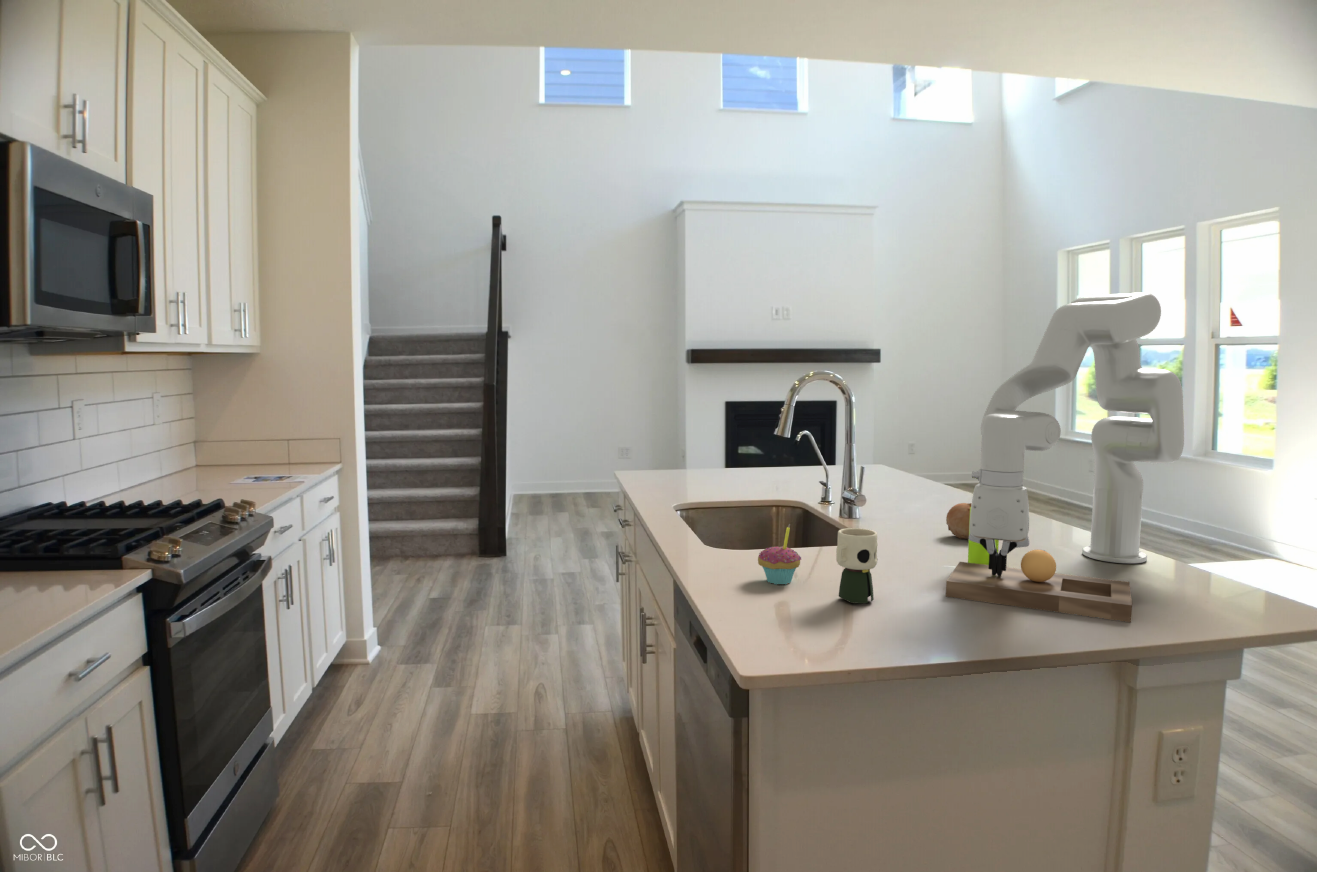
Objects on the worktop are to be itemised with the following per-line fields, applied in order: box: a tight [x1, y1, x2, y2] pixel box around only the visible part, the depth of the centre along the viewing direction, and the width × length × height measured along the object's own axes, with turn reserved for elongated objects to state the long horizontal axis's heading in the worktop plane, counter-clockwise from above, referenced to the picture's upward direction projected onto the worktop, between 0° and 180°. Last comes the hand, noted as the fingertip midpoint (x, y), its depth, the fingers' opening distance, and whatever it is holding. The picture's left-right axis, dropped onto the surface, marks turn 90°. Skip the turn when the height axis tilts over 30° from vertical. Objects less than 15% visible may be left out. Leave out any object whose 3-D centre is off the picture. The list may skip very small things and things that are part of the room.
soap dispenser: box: [967, 507, 1000, 565], centre depth 166 cm, size 6×7×20 cm
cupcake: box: [757, 523, 802, 585], centre depth 158 cm, size 9×8×12 cm
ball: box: [1020, 549, 1057, 582], centre depth 148 cm, size 6×6×6 cm
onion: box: [945, 502, 972, 540], centre depth 196 cm, size 10×9×10 cm
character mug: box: [835, 527, 878, 604], centre depth 145 cm, size 11×7×13 cm, turn 127°
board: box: [945, 561, 1133, 623], centre depth 148 cm, size 16×30×3 cm, turn 61°
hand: (997, 573), depth 151 cm, fingers closed
